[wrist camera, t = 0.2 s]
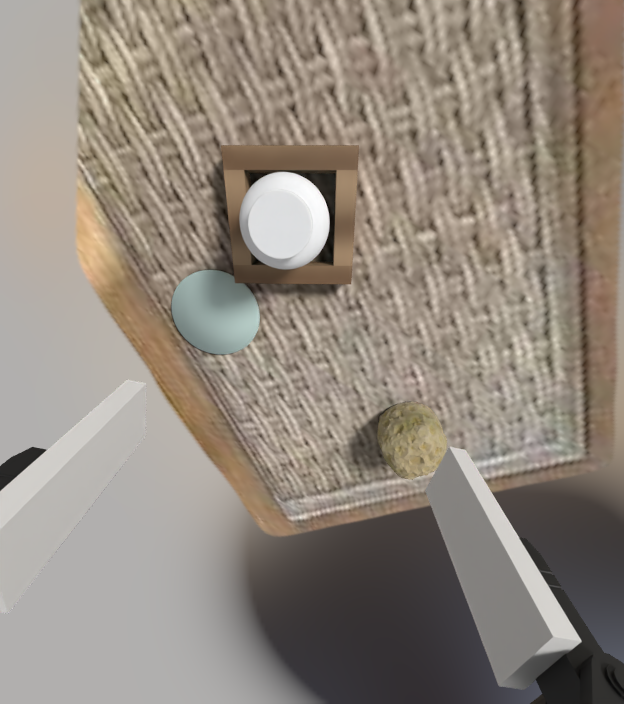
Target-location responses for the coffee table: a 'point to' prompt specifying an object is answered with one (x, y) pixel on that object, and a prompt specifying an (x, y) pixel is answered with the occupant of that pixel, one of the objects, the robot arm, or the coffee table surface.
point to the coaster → (215, 312)
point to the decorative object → (411, 439)
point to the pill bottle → (284, 220)
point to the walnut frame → (293, 160)
